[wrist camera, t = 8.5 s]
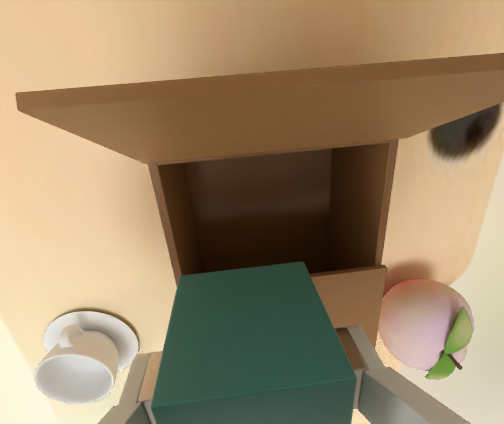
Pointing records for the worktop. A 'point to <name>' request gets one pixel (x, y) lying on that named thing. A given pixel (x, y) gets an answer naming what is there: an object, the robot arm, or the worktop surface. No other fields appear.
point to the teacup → (84, 356)
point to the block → (252, 352)
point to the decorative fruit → (426, 326)
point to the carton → (286, 218)
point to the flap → (272, 107)
